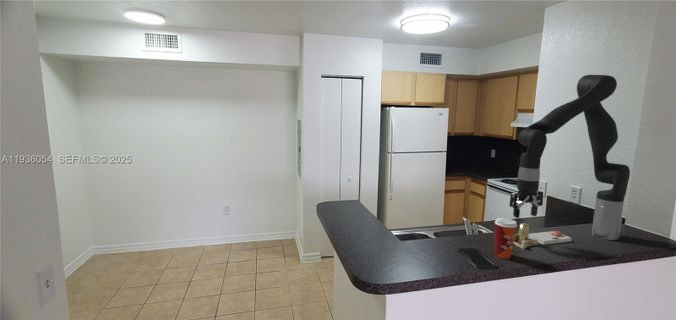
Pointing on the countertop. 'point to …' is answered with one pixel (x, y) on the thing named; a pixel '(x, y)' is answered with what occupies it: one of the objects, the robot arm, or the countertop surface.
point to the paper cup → (504, 237)
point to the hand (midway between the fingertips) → (525, 216)
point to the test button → (557, 233)
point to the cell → (523, 232)
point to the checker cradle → (549, 238)
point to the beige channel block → (525, 242)
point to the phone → (477, 258)
